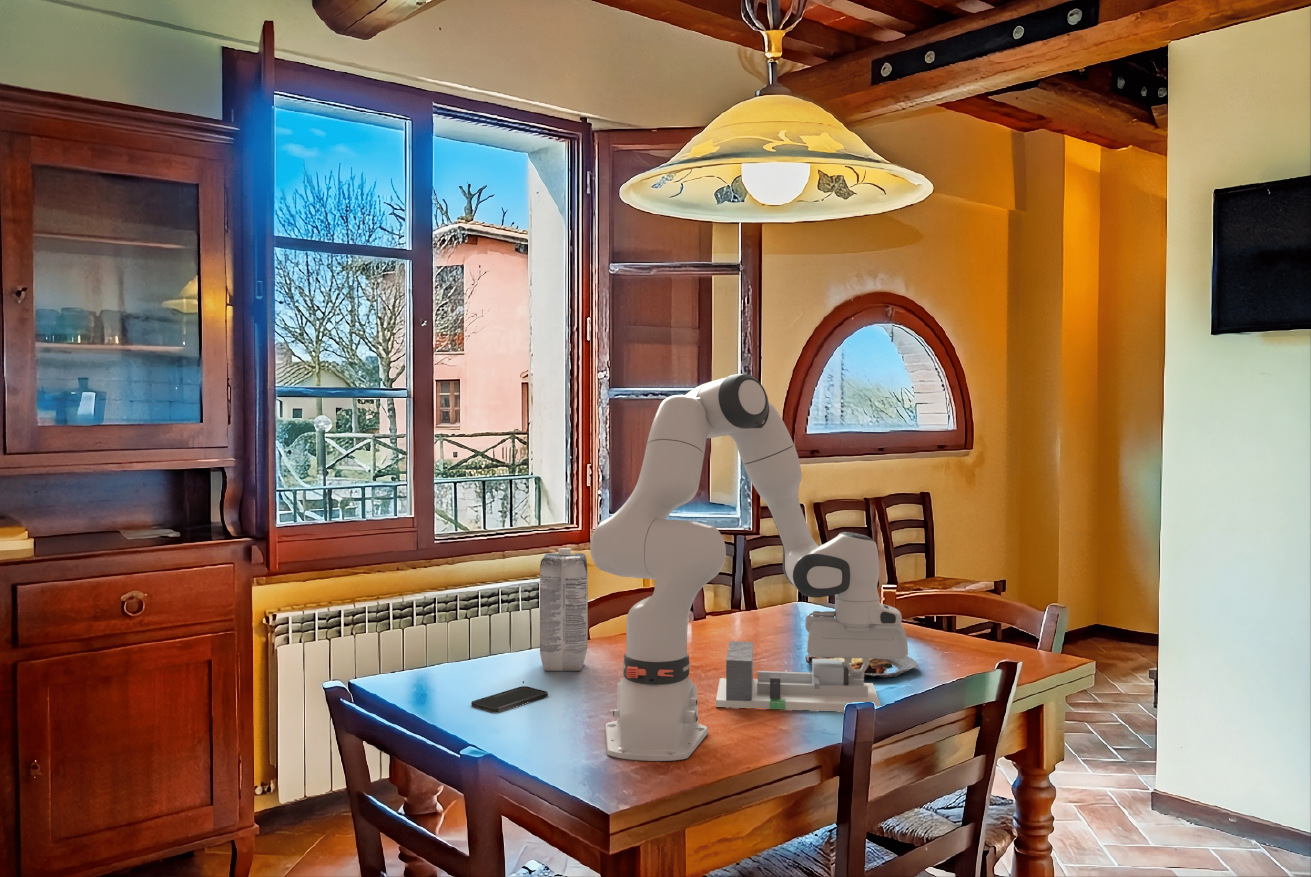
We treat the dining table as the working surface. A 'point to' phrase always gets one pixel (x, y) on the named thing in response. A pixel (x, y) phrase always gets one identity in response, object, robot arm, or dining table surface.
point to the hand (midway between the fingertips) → (856, 679)
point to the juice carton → (563, 610)
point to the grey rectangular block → (739, 671)
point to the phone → (509, 699)
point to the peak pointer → (775, 686)
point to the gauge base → (800, 693)
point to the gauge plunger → (829, 672)
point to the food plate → (877, 665)
